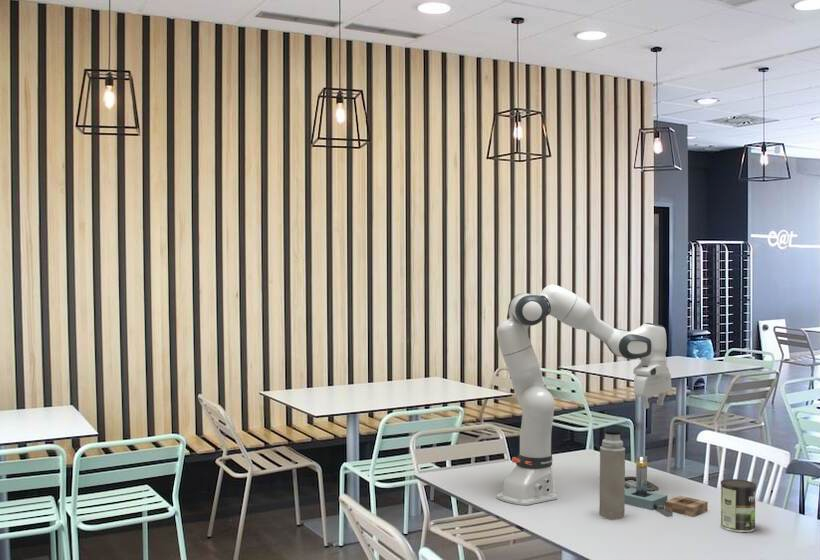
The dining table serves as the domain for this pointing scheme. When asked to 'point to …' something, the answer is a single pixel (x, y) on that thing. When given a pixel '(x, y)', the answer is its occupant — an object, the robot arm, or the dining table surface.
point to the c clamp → (649, 485)
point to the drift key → (662, 510)
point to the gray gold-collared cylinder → (641, 476)
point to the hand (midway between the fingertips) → (653, 406)
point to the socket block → (686, 506)
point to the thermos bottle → (612, 476)
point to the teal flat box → (644, 499)
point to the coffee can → (738, 505)
